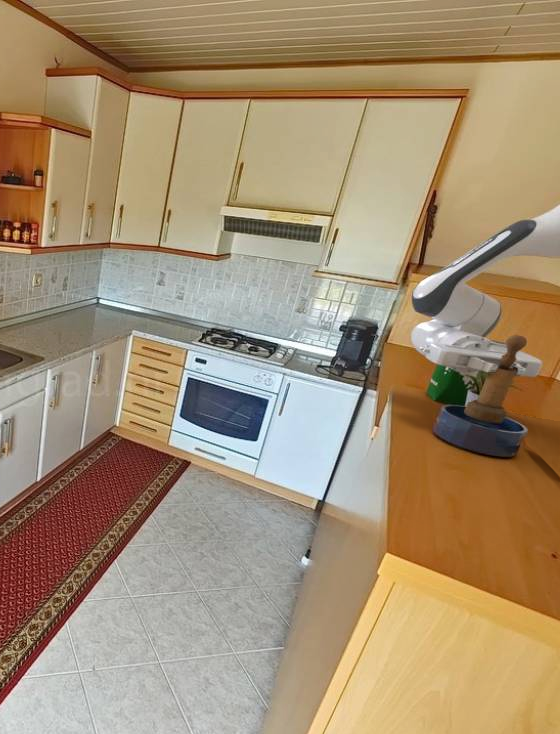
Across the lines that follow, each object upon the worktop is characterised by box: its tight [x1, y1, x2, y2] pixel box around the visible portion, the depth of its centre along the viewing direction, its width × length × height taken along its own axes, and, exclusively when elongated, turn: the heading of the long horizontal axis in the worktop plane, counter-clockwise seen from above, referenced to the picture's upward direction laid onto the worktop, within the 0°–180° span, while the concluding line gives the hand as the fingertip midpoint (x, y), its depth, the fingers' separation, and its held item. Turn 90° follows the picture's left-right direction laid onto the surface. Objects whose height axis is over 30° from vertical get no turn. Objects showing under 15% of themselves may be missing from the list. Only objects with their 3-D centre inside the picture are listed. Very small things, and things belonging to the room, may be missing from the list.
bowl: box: [432, 404, 529, 458], centre depth 105 cm, size 14×14×6 cm
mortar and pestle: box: [464, 334, 528, 423], centre depth 101 cm, size 7×6×18 cm
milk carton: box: [425, 337, 488, 406], centre depth 129 cm, size 9×9×20 cm
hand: (507, 370), depth 99 cm, fingers closed on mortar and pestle, 4 cm apart
